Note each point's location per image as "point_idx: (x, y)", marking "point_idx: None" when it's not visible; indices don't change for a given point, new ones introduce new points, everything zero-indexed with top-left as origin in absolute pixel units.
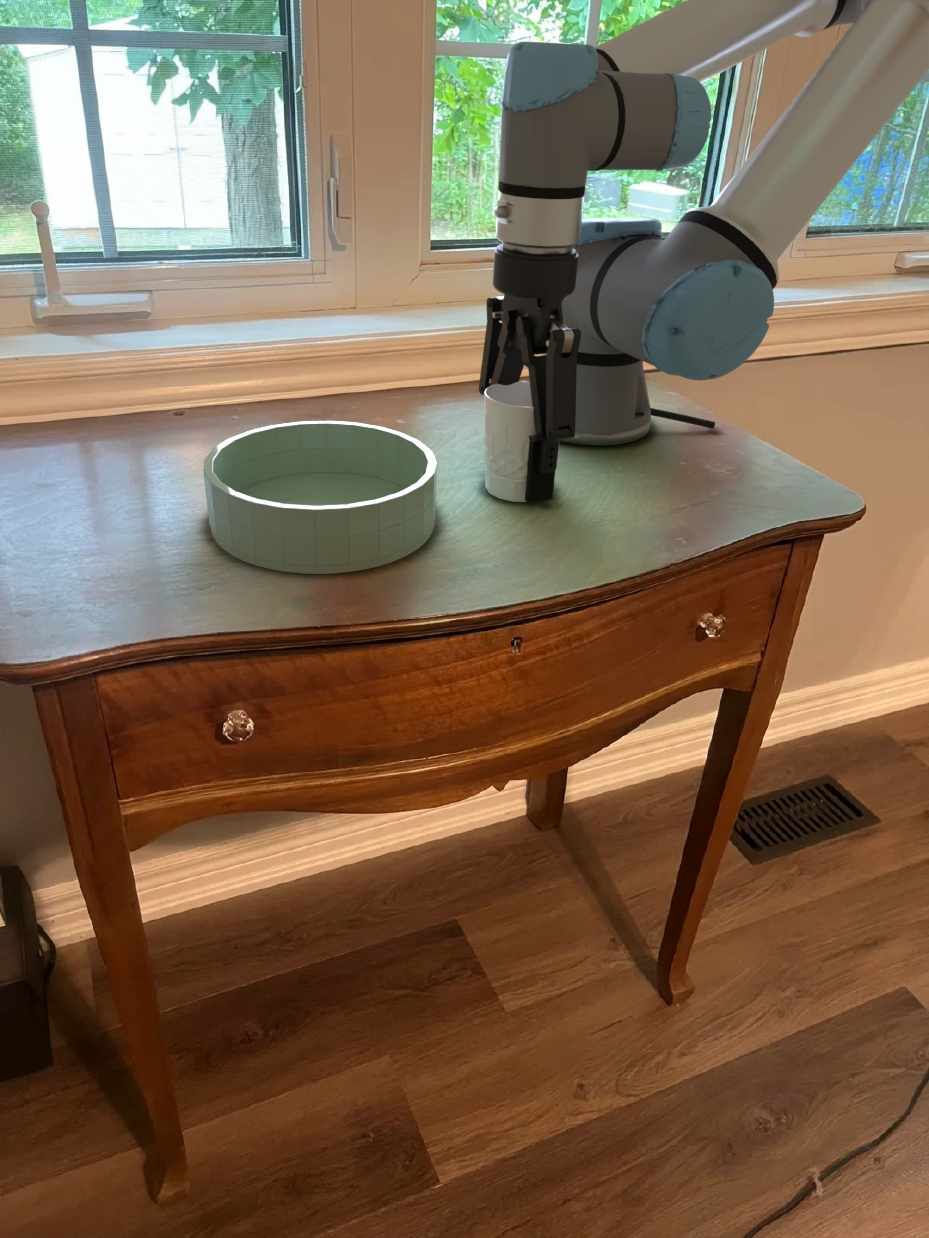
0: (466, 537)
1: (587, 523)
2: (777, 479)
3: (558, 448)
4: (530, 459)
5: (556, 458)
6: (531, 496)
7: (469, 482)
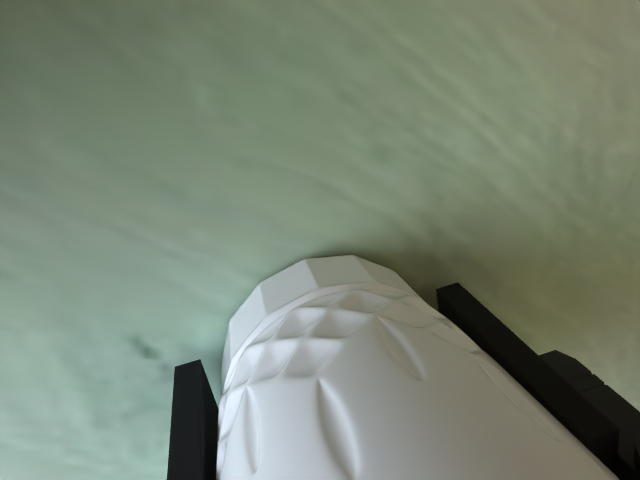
0: None
1: (574, 204)
2: None
3: (437, 328)
4: None
5: (601, 384)
6: None
7: None
